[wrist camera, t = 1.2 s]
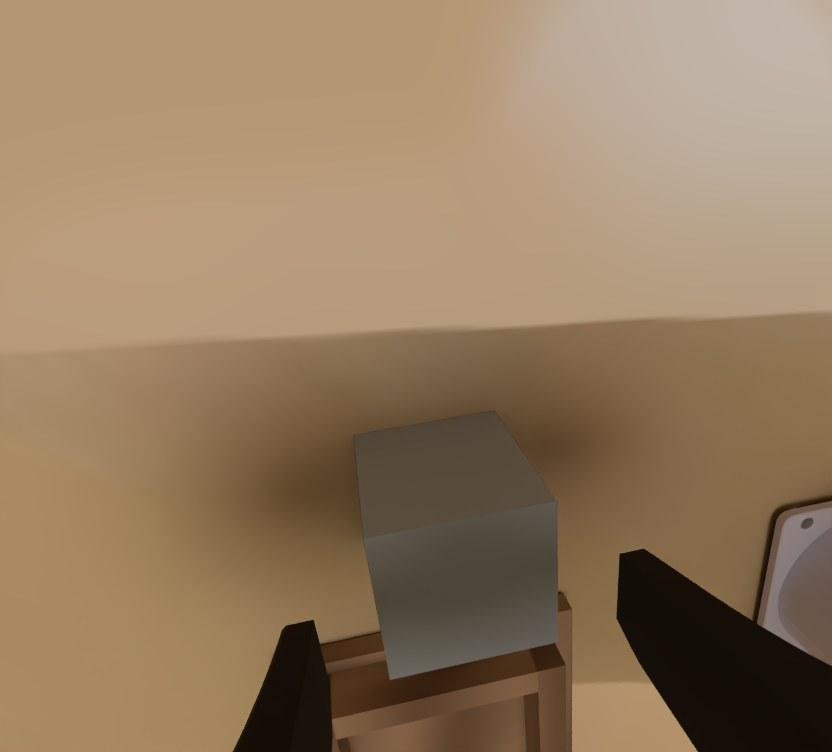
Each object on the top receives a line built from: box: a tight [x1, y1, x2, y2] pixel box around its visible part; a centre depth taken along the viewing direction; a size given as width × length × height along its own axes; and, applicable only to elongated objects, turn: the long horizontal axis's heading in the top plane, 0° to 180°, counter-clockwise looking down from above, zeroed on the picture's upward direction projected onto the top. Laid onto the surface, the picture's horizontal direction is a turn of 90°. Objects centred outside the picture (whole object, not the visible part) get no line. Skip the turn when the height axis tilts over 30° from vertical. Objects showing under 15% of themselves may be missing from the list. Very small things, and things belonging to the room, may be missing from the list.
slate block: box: [354, 411, 558, 680], centre depth 15 cm, size 4×4×5 cm
